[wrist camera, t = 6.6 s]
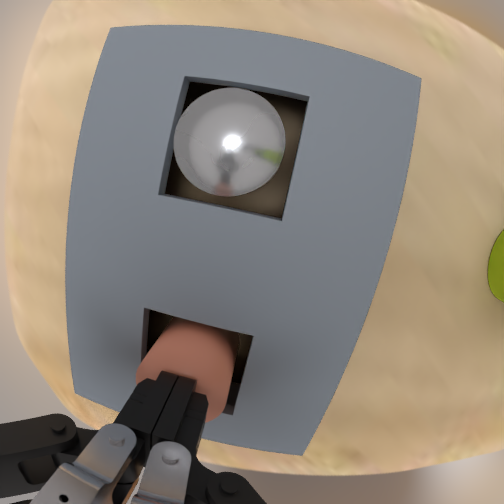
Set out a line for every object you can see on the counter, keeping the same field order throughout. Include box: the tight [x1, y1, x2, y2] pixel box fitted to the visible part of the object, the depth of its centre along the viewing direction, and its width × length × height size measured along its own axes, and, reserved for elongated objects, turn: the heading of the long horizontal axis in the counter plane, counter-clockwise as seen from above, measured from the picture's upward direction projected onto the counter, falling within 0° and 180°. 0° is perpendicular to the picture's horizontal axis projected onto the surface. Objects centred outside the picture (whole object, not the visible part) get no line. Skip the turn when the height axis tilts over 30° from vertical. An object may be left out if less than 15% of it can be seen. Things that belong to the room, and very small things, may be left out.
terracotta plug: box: [136, 316, 240, 423], centre depth 14 cm, size 4×4×5 cm
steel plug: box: [174, 88, 285, 196], centre depth 13 cm, size 4×4×5 cm
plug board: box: [65, 25, 421, 456], centre depth 15 cm, size 14×20×5 cm
